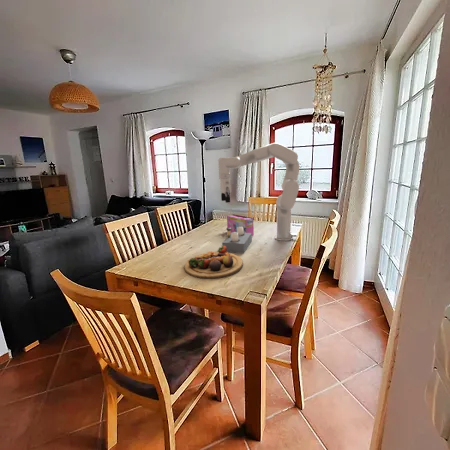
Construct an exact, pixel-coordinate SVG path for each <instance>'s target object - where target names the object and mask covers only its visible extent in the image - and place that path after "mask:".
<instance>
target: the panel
mask: <svg viewBox="0 0 450 450" xmlns="http://www.w3.org/2000/svg"><path fill="white" fill-rule="evenodd" d="M232 233H233V232H232ZM243 234H244V236H238V241H239V242H232V239H231V237H230V238H228V236H227V237H226V238H225V239H224V240H223V241H222V242H221V244H222V245H221V247H222V246H226V248H227V253H237V254H245V253H246V251H247V249H248V248H249V246H250V245H251V244H252V241H253V239H252V238H253V235H252V233H243Z"/></svg>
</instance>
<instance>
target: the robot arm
mask: <svg viewBox="0 0 450 450" xmlns="http://www.w3.org/2000/svg"><path fill="white" fill-rule="evenodd" d="M271 158H272V159H273V158H275V159H278V160H279V161H281V162H282V163H283V164H284V165H285V169H286V170H285V173H284V178H283V181H282V184H281V189H282V193H281V194H280V195H278V196H277V198H276V201H275V202H276V235H275V236H274V239H275V240H276V241H283V242H285V241H287V242H288V241H291V240H293V238H297V237H298V235H297V233H292V231H291V229H292V227H291V226H292V224H291V222H292V221H291V220H292V219H291V218H292V209H293V208H294V205H295V204H296V200H297V197H298V193H299V190H300V185H299V182H298V181H297V180H298V177H299V174H300V163H299V161H298V159H299V155H298V153H297V151H295V150H293V149H291V148H289V147H287V146H285V145H283V144H280V143H278V142H273V143H270V144H267V145H264V146H261V147H258V148H255V149H252V150H250V151H248V152H245V153H243V154H240V155H237V156H233V157H220V158H218V160H217V161H218V177H219V178H218V179H219V180H220V181H219V183H220V184H219V185H220V194H221V196H220V197H221V201H222V202H223V201H225V203H231V193H232V185H231V169H238V168H242V167H244V166H247V165H251V164H256V163H259V162H262V161H266V160H268V159H271Z"/></svg>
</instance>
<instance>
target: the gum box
mask: <svg viewBox="0 0 450 450" xmlns="http://www.w3.org/2000/svg"><path fill="white" fill-rule="evenodd" d="M226 225H227V227H226V228H231V230H230V234H231V233H232V232H237V227H243V233H252V236H254V234H255V233H254V232H255V231H254V218H253V217H250V216H245V215H239V214H231V215H226Z"/></svg>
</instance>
